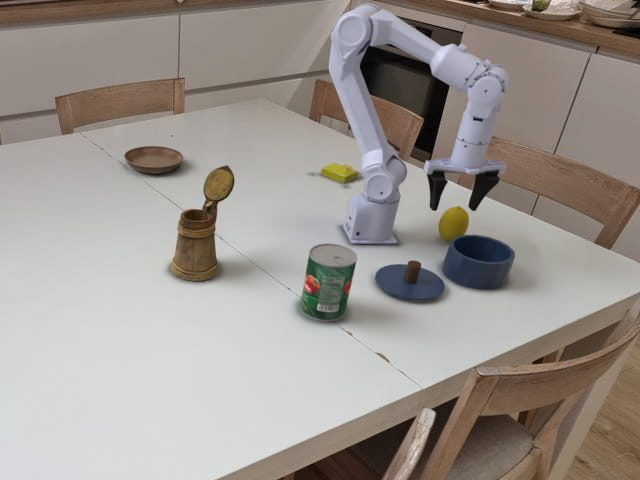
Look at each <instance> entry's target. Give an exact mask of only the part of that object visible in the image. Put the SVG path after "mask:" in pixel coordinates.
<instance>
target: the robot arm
mask: <svg viewBox="0 0 640 480" xmlns="http://www.w3.org/2000/svg"><path fill="white" fill-rule="evenodd" d="M330 40H331V45H330V51H329V52H330V53H329V61H328V71H329V75H330V78H331V81H332V82H333V85H334V88H335V91H336V93H337V96H338V98H339V100H340V103H341V106H342V108H343V110H344V113H345V116H346V118H347V119H346V120H347V121H348V124H349V127H350V129H351V132H352V134H353V137H354V139H355V141H356V144H357V147H358V149H359V152H360V155H361V172H362V176H363V192H362V193H359V194H358V193H357V194H353V195H351V196H350V197H349V199H348V203H347V208H346V213H345V217H344V223H343V225H342V229H343V230H344V232H345V234H346V236H347V238H348V240H349V242H350V243H351V244H352V245H380V244H381V245H396V244H397V243H398V241H397V240H398V239H396V238H395V236H394V234H393V229H394V226H395V225H394V224H395V221H396V216H397V213H398V208H399V204H400V200H401V196H402V195H401V192H400V188H399V187H400V186H401V184H403V183H404V181H405V180H406V178H407V175H408V167H407V164H406V163H405V162H404V160H403V159H402V158H400V156H398V154H397V152H396V149H395V148H394V147H393V146H392V145H391V144H390V143H389V142H388V140H387V137H386V134H385V132H384V128H383V126H382V124H381V121H380V118H379V116H378V113H377V111H376V108H375V105H374V102H373V100H372V96H371V94H370V91H369V90H368V87H367V83H366V81H365V78H364V76H363V74H362V73H363V72H362V70H361V68H360V64H361V62H362V60H363V58H364V56H365V53H366V51H367V49H368V47H369V46H370V47H376V46H383V45H392V46H394V47H395V48H397V49H399V50H401V51H403V52H405V53H407V54H409V55H411V56H412V57H414V58H417V59H419V60H421V61H422V62H425V63H426V64H428V65H429V67H430V71H431V75H432V76H433V77H434V78H436V79H438V80H439V81H442V82H443V83H445V84H446V85H448V86H450V87H451V88H453V89H454V90H456V91H458V92H460V93H462V94H465V95H467V99H468V102H467V105H466V109H465V110H464V111H463V114H462V117H461V120H460V124H459V128H458V132H457V135H456V139H455V142H454V146H453V149H452V151H451V155H450V157H446V158H440V159H439V158H438V159H433V160H432V159H430V160H429V159H428V160H427V159H426V160H425V162H424V166H423V171H424V173H425V174H426V178H427V182H428V186H429V188H428V189H429V208H430V210H431V211H432V212H437V210H438V208H439V206H440V201H441V198H442V194H443V192H444V190H445V189H446V186H447V184H448V183H449V181H448V179H446V175H445V174H467V175H475V177H474V182H473V188H472V191H471V195H470V197H469V201H468V208H469V210H470V211H472V212H476V211H477V209H478V207H479V206H480V204H481V203H482V201H483V200H484V199H485V197H486V196H487V195H488V194H489V193H490V191H492V189H493V188H494V187H496V186H497V185H498V184H499V182H500V179H501V178H500V177H499V176H504V175H505V172H506V169H507V167H508V165H507V163H505V162H504V161H503V160H492V159H486V156H487V153H488V150H489V146H490V143H491V141H492V138H493V134H494V131H495V128H496V125H497V122H498V118H499V114H498V113H499V112H500V110H501V106H502V101H503V100H504V98H505V97H506V92H507V91H508V89H509V86H510V76H509V73H508V72H507V71H506V70H505V68H503V66H502V65H501V64H495V63H494V64H492V61H490V60H489V59H485V60H482V59H481V58H479V57H478V56H475V55H474V54H472V53H470V51H467V49H468V46H467V45H465V44H464V43H460V44H459V45H457V44H455V43H449V44H447V45H440V44H439V43H437V42H436V41H434V40H433V39H431V38H430V37H429V36H427V35H425V34H424V33H422V32H420V30H418V29H416V28H414V27H413V26H411V25H410V24H408V23H407V22H406V21H404V20H402V19H401V18H399V17H398V16H396V15H395V14H393V13H392V12H391V11H389V10H386V9H383V8H382V9H380V7H379V6H377V5H376V4H374V3H370V2H365V3H362V4H360V5H358V6H356V7H355V8H354V9H351V10H350V11H347V12H345V13H344V14H342V15H341V16H340V17H339V18H338V20H337V21H336V23H335V26H334V28H333V29H332V32H331V33H330ZM498 175H499V176H498Z"/></svg>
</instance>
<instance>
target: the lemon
mask: <svg viewBox="0 0 640 480" xmlns="http://www.w3.org/2000/svg"><path fill="white" fill-rule="evenodd" d="M469 224H470V218H469V214H468V212H467V211H466V210H465V208H462V206H459V205H457V206H452V207H450V208H448V209H446V210H445V211H444V212H443V214H442V215H441V217H440V219H439V221H438V225H437V226H438V227H437V231H438V234H439V236H440V237H441V238H442V239H443V240H445V242H446V243H448V244H449V243H450V241H451V240H452V239H453V238H455V237H457V236H461V235H466V233H467V231H468V228H469Z"/></svg>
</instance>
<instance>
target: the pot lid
mask: <svg viewBox="0 0 640 480" xmlns="http://www.w3.org/2000/svg"><path fill="white" fill-rule="evenodd" d="M374 281H375V283H376V285H377V286H378V287H379V288H380V289H381V290H383V291H384V292H386V293H387V294H388V295H391V296H393V297H396V298H399V299H404V300H407V301H414V302H424V301H425V302H426V301H431V300H435V299H437V298H439V297H441V296H442V295H443V294H444V292H445V289H446V285H445V282H444V280H443V279H442V278H441V277H440V276H439V275H438V274H436V273H435V272H433V271H431V270H429V269H426V268H424V267H422V263H421V262H420V261H419V260H418V261H417V260H413V259H412V260H408V261H407V264H406V263H395V264H388V265H385V266H382V267H381V268H379V269H378V270H377V271H376V272H375V275H374Z"/></svg>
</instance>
